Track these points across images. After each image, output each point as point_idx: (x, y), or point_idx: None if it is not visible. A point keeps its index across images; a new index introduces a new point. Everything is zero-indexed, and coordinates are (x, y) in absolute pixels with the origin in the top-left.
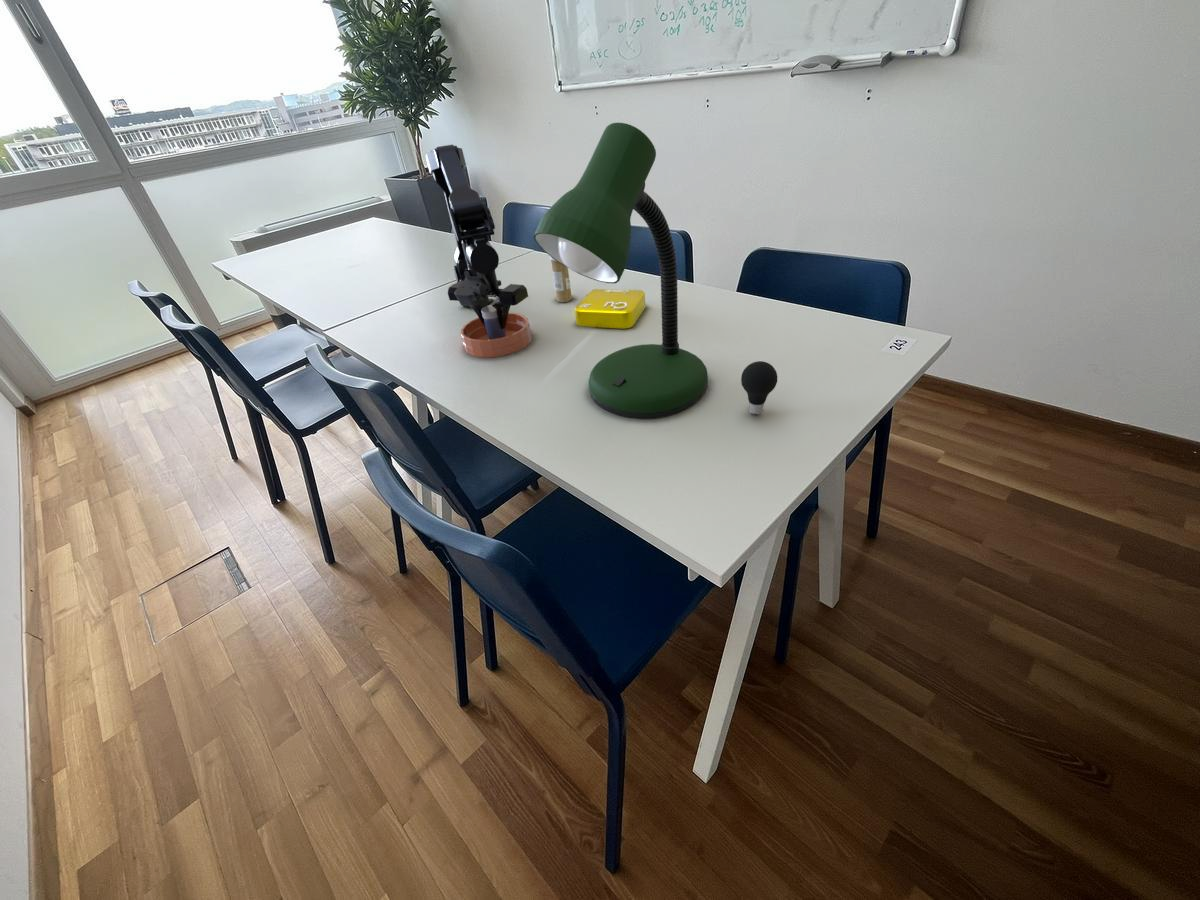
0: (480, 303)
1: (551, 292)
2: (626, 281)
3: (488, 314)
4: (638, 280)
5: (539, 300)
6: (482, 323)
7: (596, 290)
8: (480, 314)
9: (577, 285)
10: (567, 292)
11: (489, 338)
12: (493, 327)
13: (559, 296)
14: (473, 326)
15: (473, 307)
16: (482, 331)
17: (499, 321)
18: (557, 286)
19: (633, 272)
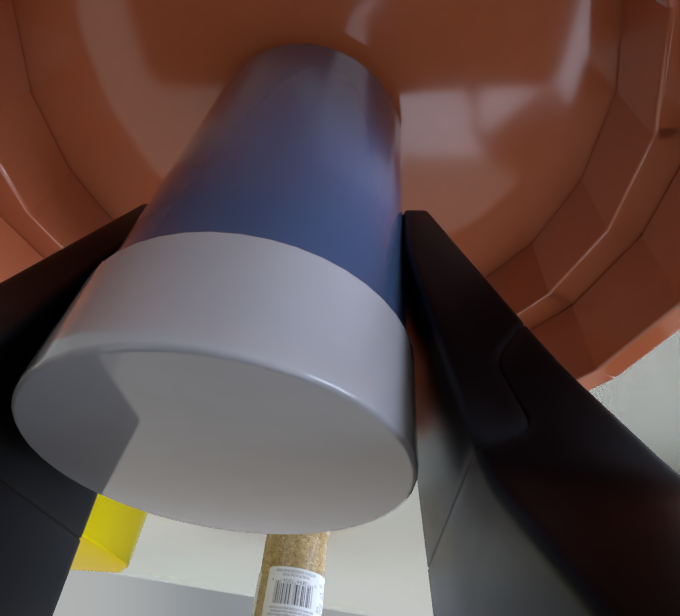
0: (462, 586)
1: (391, 550)
2: (196, 572)
3: (111, 309)
4: (169, 573)
5: (403, 522)
6: (567, 325)
7: (100, 567)
8: (437, 338)
9: (328, 568)
10: (264, 557)
11: (330, 72)
12: (189, 158)
13: (296, 540)
14: (654, 256)
15: (614, 487)
16: (552, 250)
17: (88, 258)
18: (291, 589)
19: (221, 591)
